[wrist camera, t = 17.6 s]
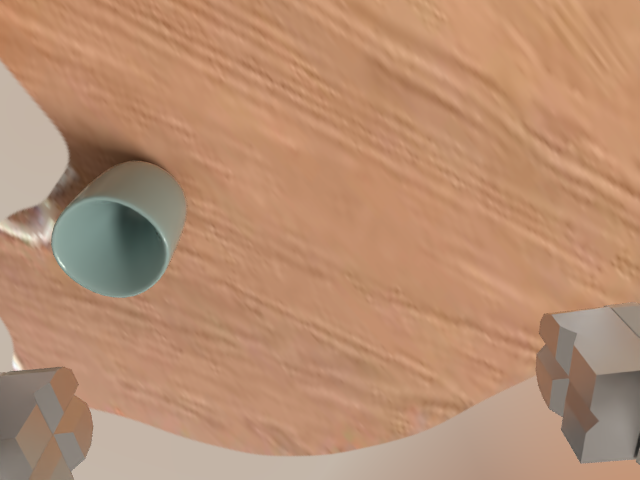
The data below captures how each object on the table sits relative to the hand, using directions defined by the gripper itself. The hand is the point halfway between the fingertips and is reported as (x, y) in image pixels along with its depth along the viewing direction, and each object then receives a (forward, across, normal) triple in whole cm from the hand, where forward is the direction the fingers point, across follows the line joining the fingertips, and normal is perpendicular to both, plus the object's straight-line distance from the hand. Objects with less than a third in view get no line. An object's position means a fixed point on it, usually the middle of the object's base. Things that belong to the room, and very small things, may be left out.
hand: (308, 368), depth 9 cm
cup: (+34, +14, +9) cm, 38 cm away
